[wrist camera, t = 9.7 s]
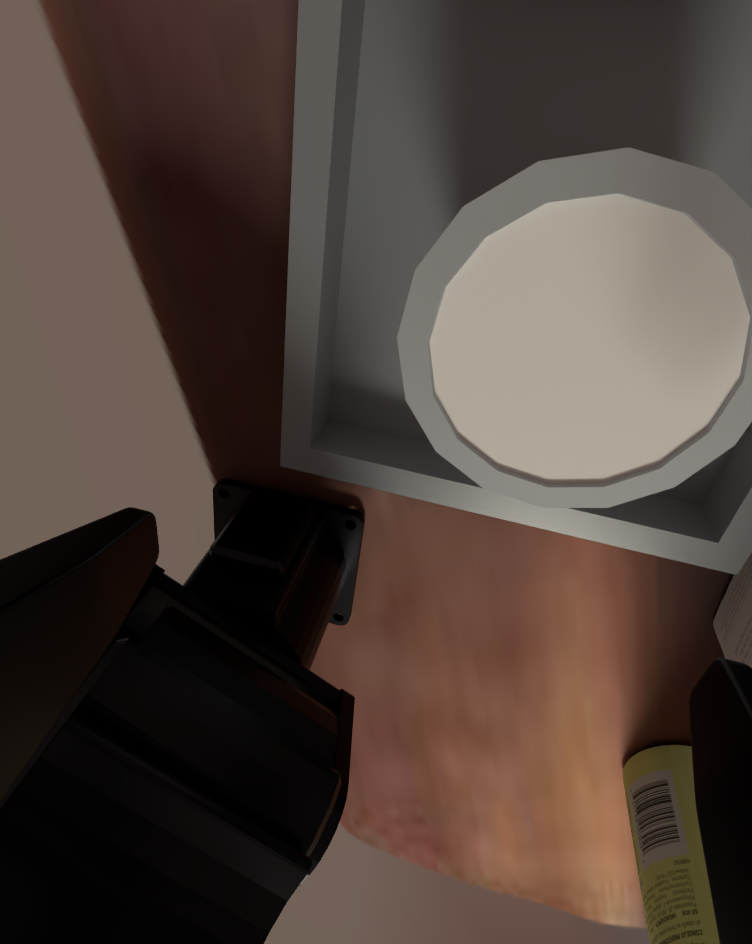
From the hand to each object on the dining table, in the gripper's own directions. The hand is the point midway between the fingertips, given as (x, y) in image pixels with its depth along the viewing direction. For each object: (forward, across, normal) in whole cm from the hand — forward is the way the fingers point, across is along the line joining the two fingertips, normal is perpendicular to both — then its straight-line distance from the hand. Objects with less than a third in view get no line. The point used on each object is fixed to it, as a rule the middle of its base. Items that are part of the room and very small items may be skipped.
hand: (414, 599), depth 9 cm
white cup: (+11, -2, -3) cm, 12 cm away
